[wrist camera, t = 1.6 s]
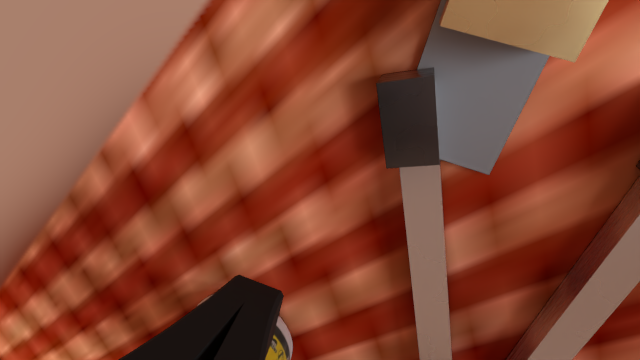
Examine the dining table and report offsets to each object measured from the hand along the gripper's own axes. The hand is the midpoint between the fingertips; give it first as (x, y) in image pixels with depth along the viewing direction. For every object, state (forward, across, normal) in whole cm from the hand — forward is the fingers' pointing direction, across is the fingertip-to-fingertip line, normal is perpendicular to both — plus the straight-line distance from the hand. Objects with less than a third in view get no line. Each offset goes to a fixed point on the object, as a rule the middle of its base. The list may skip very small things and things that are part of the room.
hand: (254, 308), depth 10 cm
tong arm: (+7, -6, +2) cm, 9 cm away
